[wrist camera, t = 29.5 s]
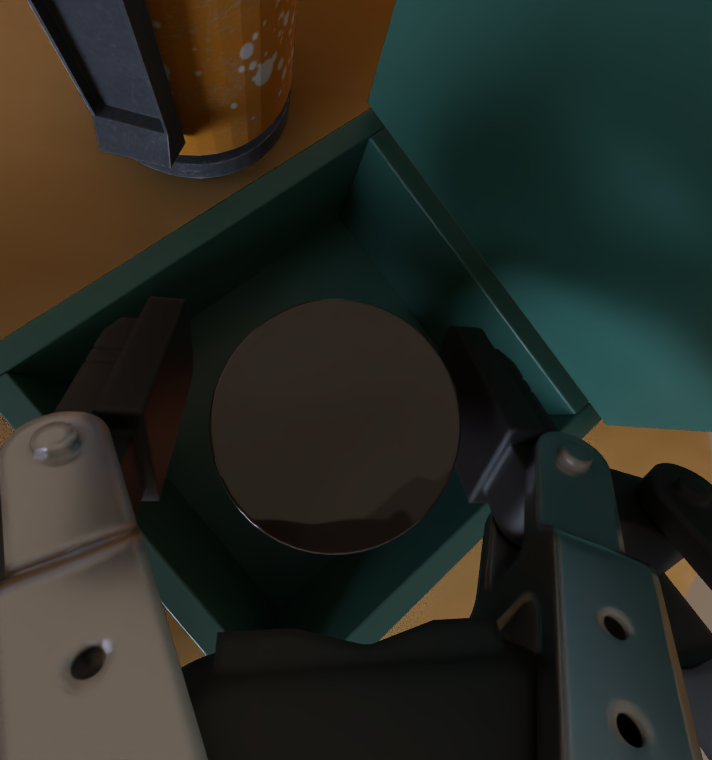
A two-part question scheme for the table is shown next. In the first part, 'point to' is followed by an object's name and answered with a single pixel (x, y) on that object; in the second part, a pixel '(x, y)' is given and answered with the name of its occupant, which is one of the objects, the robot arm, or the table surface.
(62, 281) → the table surface
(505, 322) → the chest
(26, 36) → the table surface
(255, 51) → the canister
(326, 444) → the jar
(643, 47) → the lid
